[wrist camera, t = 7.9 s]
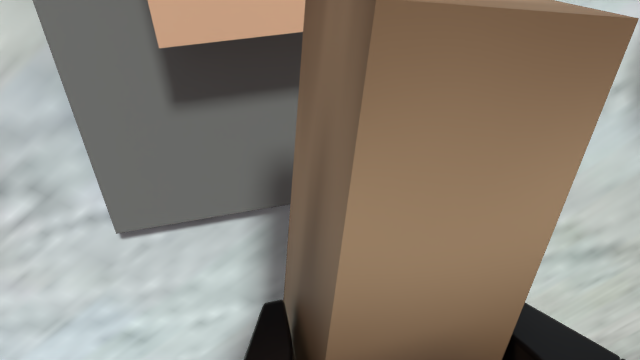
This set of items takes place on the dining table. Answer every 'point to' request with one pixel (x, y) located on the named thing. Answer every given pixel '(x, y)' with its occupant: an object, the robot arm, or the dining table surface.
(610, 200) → the dining table surface
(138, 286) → the dining table surface
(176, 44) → the tile
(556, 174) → the plain wood plank
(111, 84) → the mat
